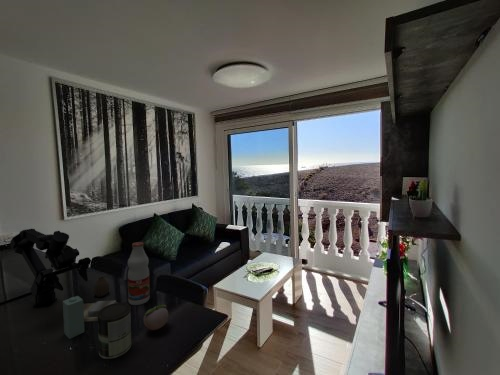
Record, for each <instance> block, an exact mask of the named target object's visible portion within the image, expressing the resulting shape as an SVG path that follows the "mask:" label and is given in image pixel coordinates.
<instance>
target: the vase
mask: <svg viewBox="0 0 500 375" xmlns="http://www.w3.org/2000/svg"><path fill="white" fill-rule="evenodd" d="M110 287H111V286H110V283H109V281H108V280H107V279H106V278H105V276H100V277H98V279H97V280H96V281H95V283H94V284H93V294H94V295H95V296H96V297H98V298H101V297H104V296H106V295H107V294H108V293H109V291H110Z"/></svg>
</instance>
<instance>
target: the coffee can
mask: <svg viewBox="0 0 500 375" xmlns="http://www.w3.org/2000/svg"><path fill="white" fill-rule="evenodd" d="M131 307H132V305H131V304H130V303H129V302H118V303H114V304H110V305H108V306H105V307H104V308H102V309H101V310H100V311H99V312H98V314H97V318H98V321H97V330H98V331H97V332H98V333H97V334H98V355H99V357H100V358H101V359H105V360H111V359H117V358H119V357H121V356H123V355H125V354H126V353H127V352H129V350H130V349H131V347H132V327H131V326H132V325H131V323H132V321H131V320H132V319H131V310H132V308H131Z"/></svg>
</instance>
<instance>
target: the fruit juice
mask: <svg viewBox="0 0 500 375" xmlns="http://www.w3.org/2000/svg"><path fill="white" fill-rule="evenodd" d="M144 245H145V244H144V242H143V241H136V242H132V244H131V247H132V250H131V252H130V255H129V258H128V259H127V267H128V270H127V297H128V298H127V299H128V300H127V301H128V304H129V305H130V306H139V305H140V306H141V305H144V304H145V303H148V302H149V300H150V297H151V296H150V295H151V294H150V293H151V292H150V288H151V287H150V268H149V267H148V266H149V262H150V261H149V257H148V255H147V253H146V251H145V249H144Z"/></svg>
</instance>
